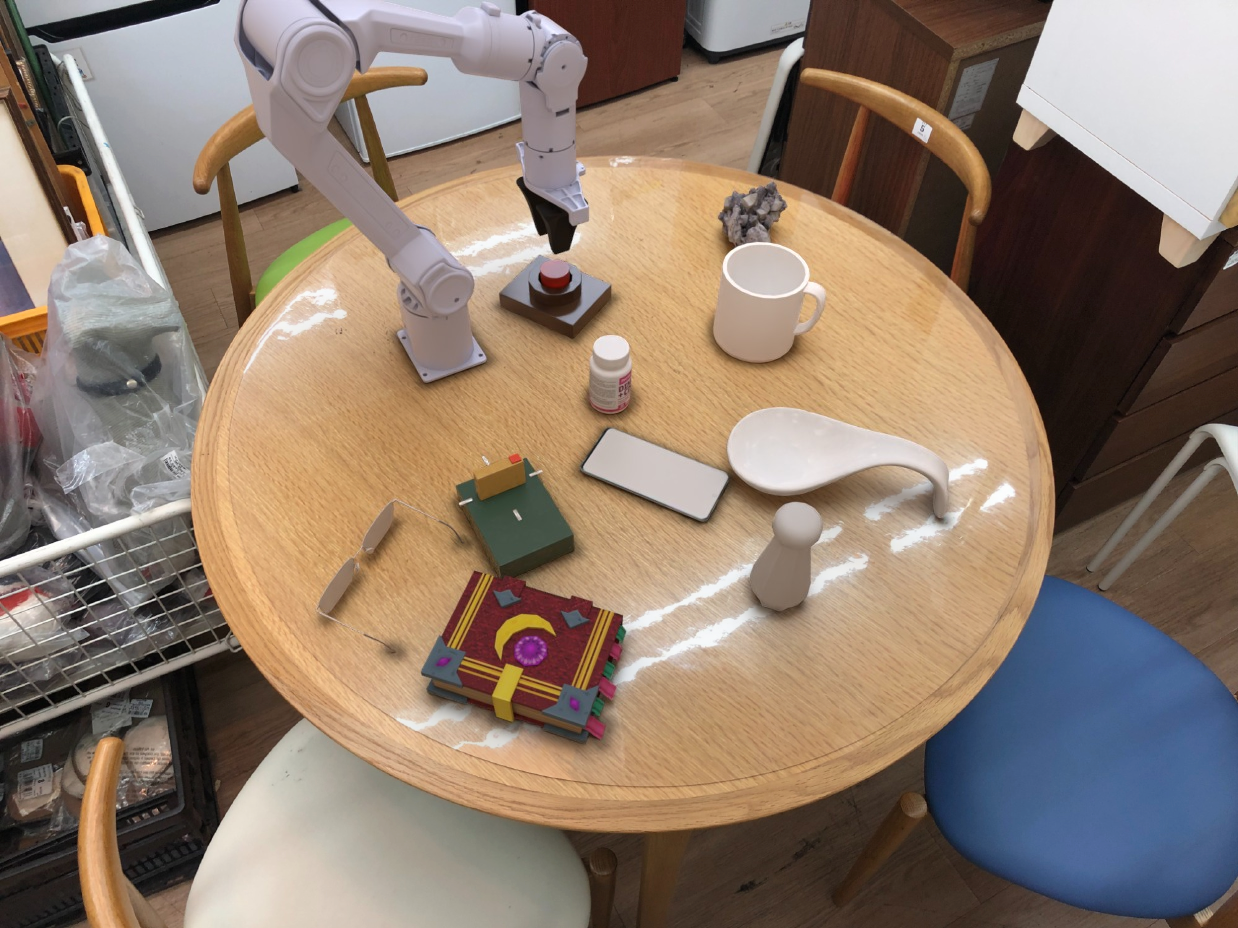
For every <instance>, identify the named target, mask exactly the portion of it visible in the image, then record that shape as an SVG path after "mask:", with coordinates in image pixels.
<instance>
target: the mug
mask: <svg viewBox="0 0 1238 928" xmlns="http://www.w3.org/2000/svg"><path fill="white" fill-rule="evenodd" d="M722 261H723V262H722V266H721V271H720V272H721V274H720V278H719V279H720V280H719V285H718V294H717V300H716V305H715V306H716V307H715V313H714V320H713V327H712V331H713V337H714V340H715V342H716V344H717V345H718V347H720V349H721V350H722V351H723V352H725V353H726V354H727V355H729V356H730V357H732V358H735V359H736V360H739V361H743V362H747V363H760V364H761V363H767V362H769V363H770V362H773V361H775V360H778V359H780V358H782V357H783V356H784V355H786V354H788V352H789V351H790V350H791V348H792V347H793V344H794V341H795V337H796V336H799V335H803V334H806V333H808V332H809V331H811V330H812V329H813V328H814V327H815V326H816V324H817V323H819V321H820V320H821V317H822V315H823V313H824V311H825V307H826V303H827V293H826V289H825V288H824V287H823V286H822V285H821V284H819V283H817V282H815V281H809V279H810V275H811V274H810V269H809V268H810V267H809V266H808V264H807V262H806V260H805V259H804V258H803V257H802V256H801V255H800V254H799V253H798V252H796V251H795V250H793V249H791V248H789V247H786V246H784V245H781V244H778V243H772V242H770V243H768V242H754V243H747V244H744V245H741V246H738V247H734V248H733V249H732V250H730V251H729V252H728V253H727V254H726V256H724V259H723V260H722ZM805 295H809V296H812V297H813V298H814V299H815V302H816V306H815V309H814V311H813V314H812V315H811V317H810V318H809V319H807V320H806V321H804V322H799V320H800V316H801V311H802V307H803V305H804V299H805Z"/></svg>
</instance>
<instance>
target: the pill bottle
mask: <svg viewBox="0 0 1238 928" xmlns="http://www.w3.org/2000/svg"><path fill="white" fill-rule="evenodd" d="M588 363H589V365H588V367H589V369H588V370H589V372H588V373H589V376H588V377H589V384H588V387H589V391H588V400H589V403H590V405H591V407H593V409H594V410H595V411H598V412H600V413H602V414H607V415H612V414H619V413H620V412H623V411H624V410H625V409H626V408H627V407H628V406H629V404H630V401H631V390H632V375H633V374H632V373H633V361H632V357H631V355H630V344H629V342H628V340H626V339H625V338H624V337H622V336H620V335H617V334H607V335H603V336H600V337H598V338H597V339H596V340H595V341H594V342H593V345H592V355H591V356H590V357H589V362H588Z"/></svg>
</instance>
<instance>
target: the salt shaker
mask: <svg viewBox="0 0 1238 928" xmlns="http://www.w3.org/2000/svg"><path fill="white" fill-rule="evenodd" d="M771 525H772V526H771V528H772V531H773V536H772V538H771V539H770V541H769V543H768V544H767V545H766V547H765V548H764V549H763V550H762V552H761V553H760V555H759V556H758V558H757V560H756V561H755V562H754V563H753V565H752V568H751V569H750V572H749V583H750V586H751V591H752V592H753V593H754V595H755V596H756V597H757V598H758V600H759V602H760V604H761V606H762V607H765V608H767V609H771V610H773V611H777V612H783V611H784V610H786V609H790V608H793V607H797V606H799V605H800V603H801V602H803V601H804V600H805V599H806V598H807V596H808V595H809V592H810V588H811V584H812V547H814V545H816V544H817V543H818V542H819V541H820V538H821V536H822V532H823V527H824V522H823V519H822V515H821V513H820V512H818V511H817V510H816V508H815V507H813V506H811V505H810V504H808V503H806V502H801V501H791V502H788V503H784V504H783V505H782V506H781V507H779V508H778V509H777V511H776V512H775V515H774V517H773V520H772V524H771Z"/></svg>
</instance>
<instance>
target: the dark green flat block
mask: <svg viewBox="0 0 1238 928" xmlns="http://www.w3.org/2000/svg"><path fill="white" fill-rule="evenodd" d="M481 459H482V461H483V462H484V464H485V466H487V465H490V464H491V463H490V462H489V460H488V458H487V456H486V455H482V456H481ZM522 459H523V461H524V469H525V480H526V483H524V484H521V485H519V486H516V487H514V488H511V489H509V490H507V491H504V492H502V493H499V494H497V495H494V496H492V497H489V498H487V499H484V500H482V501H481V500H480V498H479V496H478V495H477V493H476V487H475V481H474V477H473V478H471V479H469V480H466V481H464V482H460V483H459V484H456V485H455V490H456V494H457V500H458V506H459V507H461V509H462V511H463V513H464V515H465V517H466V519H467V520H468V522H469V524H470V526H471V527H472V529H473V532H474V534H475V535H476V537H477V539H478V541H479V543H480V544H481V546H482V548H483V550H484V552H485V554H486V556H487V558H488V559H489V561H490V563H491V565H492V567H493V569H494V570H495V573H496V575H497V577H498V578H502V579H503V578H504V576H505V575H506V576H510V577H513V578H516V577H517V576H520V575H522V574H525V573H527V572H529V571H531V570H533V569H535V568H538V567H540V566H542V565H543V566H544V565H545V564H547V563H549V562H552V561H554V560H556V559H558V558H560V557H561V558H562V557H563V556H565V555H567V554H569V553H572V552H574V551H575V533H574V532H573V530H572V529H571V527H570V525H569V524H568V522H567V520H566V518H565V517H564V515H563V514H562V512H561V511H560V509H559V507H558V506H557V504H556V502H555V501H554V499H553V498H552V497H551V495H550V492H549V491H548V490H547V488H546V487H545V485H544V484H543V483H544V482H542V480H541V478H540V477H539V475H541V474H543V473H544V472H543V470H542V469H539V470H537V471H536V470H535V469H534V467H533V465H532V464H531V462H530V460H529V459H528V457H524V458H522Z"/></svg>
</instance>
